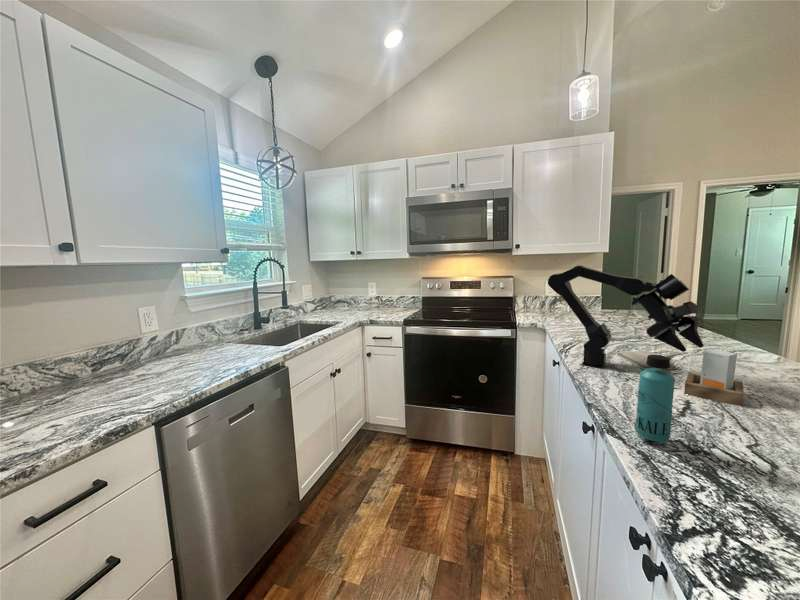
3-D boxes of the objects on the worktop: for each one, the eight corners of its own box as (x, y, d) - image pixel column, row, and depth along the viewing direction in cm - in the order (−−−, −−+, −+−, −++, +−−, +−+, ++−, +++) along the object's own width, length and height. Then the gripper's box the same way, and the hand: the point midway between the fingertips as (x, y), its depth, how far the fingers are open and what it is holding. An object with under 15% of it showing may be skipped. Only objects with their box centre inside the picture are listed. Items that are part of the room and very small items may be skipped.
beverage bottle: (653, 432, 77) (660, 351, 74) (678, 448, 71) (686, 360, 68) (627, 433, 77) (632, 352, 74) (649, 450, 70) (656, 361, 68)
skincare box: (699, 388, 97) (702, 350, 96) (706, 386, 99) (710, 348, 97) (725, 396, 92) (729, 355, 90) (733, 393, 94) (737, 353, 92)
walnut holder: (684, 394, 96) (685, 383, 96) (687, 382, 105) (688, 372, 104) (742, 406, 88) (744, 394, 87) (741, 392, 96) (742, 381, 96)
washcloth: (644, 371, 116) (645, 363, 116) (615, 356, 134) (615, 349, 134) (679, 371, 116) (680, 363, 115) (645, 355, 133) (645, 348, 133)
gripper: (660, 295, 99) (701, 339, 90) (695, 291, 106) (736, 331, 97) (631, 316, 107) (666, 358, 98) (665, 311, 114) (701, 349, 105)
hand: (693, 349), depth 100 cm, fingers open, 9 cm apart
